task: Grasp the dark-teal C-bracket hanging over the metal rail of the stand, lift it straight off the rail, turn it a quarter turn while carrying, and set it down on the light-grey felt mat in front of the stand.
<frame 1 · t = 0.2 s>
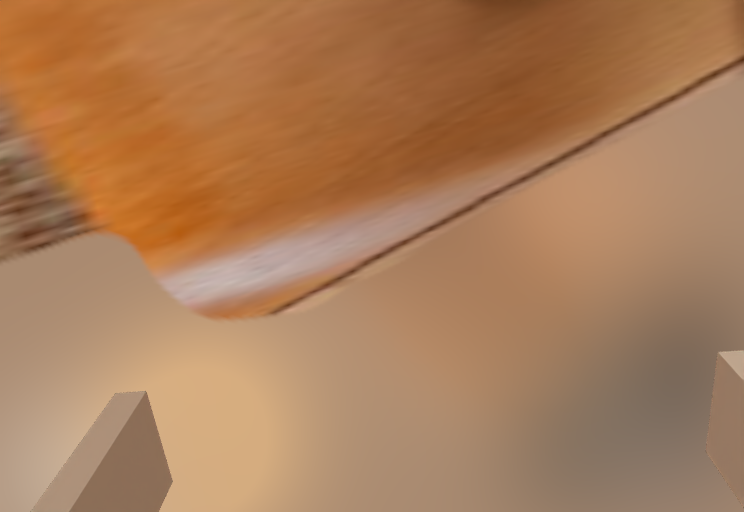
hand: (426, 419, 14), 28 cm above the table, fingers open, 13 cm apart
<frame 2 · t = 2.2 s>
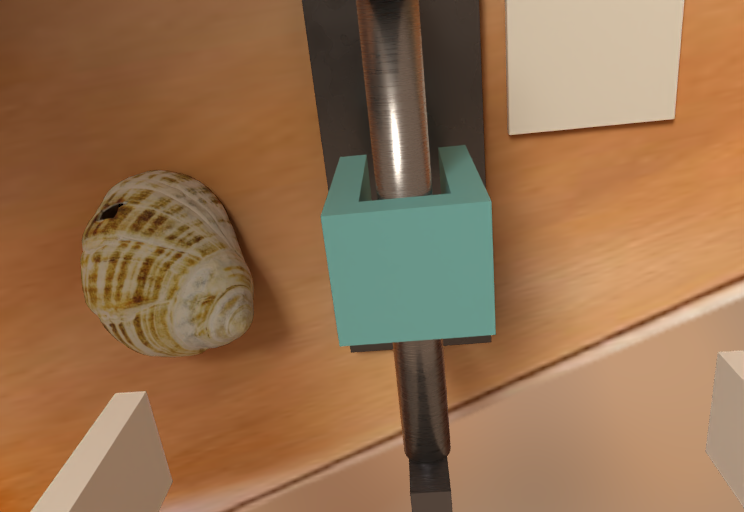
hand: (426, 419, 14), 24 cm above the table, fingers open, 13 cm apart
mat: (590, 31, 33), on the table
c link: (406, 204, 29), point 8 cm above the table, touching stand
seashell: (190, 251, 39), on the table
stand: (404, 159, 36), on the table
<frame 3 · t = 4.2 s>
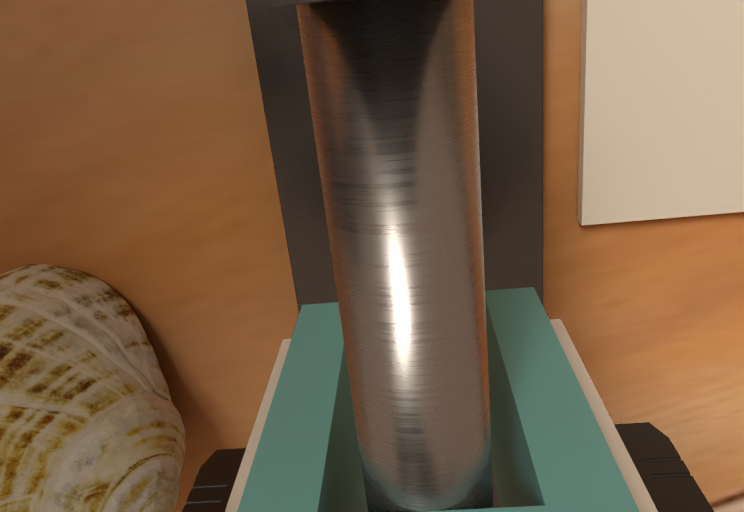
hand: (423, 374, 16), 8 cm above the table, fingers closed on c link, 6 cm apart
mat: (719, 65, 20), on the table
c link: (423, 383, 16), point 8 cm above the table, touching gripper, stand
seashell: (97, 377, 26), on the table
stand: (415, 258, 23), on the table
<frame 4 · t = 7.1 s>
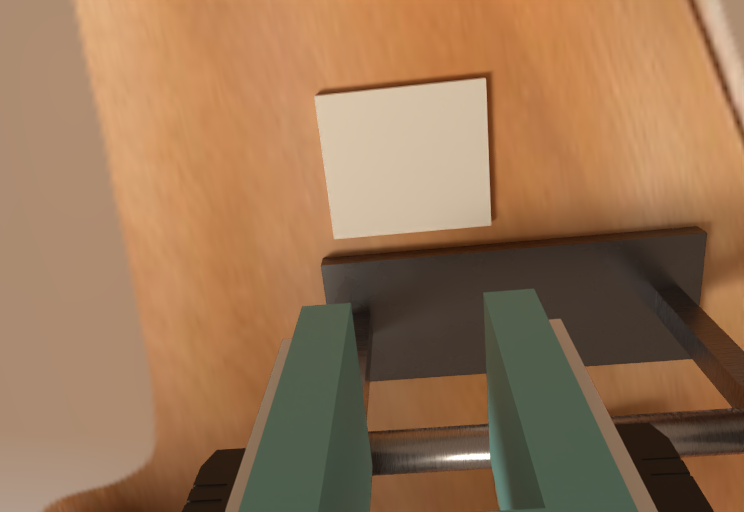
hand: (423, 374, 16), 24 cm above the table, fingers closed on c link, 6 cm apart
mat: (405, 160, 38), on the table
c link: (424, 384, 16), point 24 cm above the table, touching gripper
stand: (507, 304, 42), on the table
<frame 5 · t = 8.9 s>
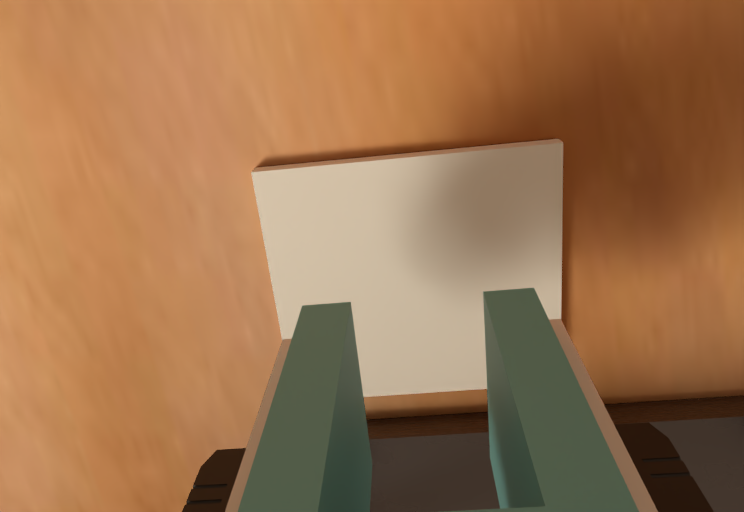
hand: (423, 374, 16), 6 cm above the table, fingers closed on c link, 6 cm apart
mat: (414, 277, 22), on the table
c link: (424, 383, 16), point 7 cm above the table, touching gripper
stand: (580, 496, 26), on the table
when the fingers open (2 cm above the table, at t = 10.1 s): c link drops 1 cm, resting on mat.
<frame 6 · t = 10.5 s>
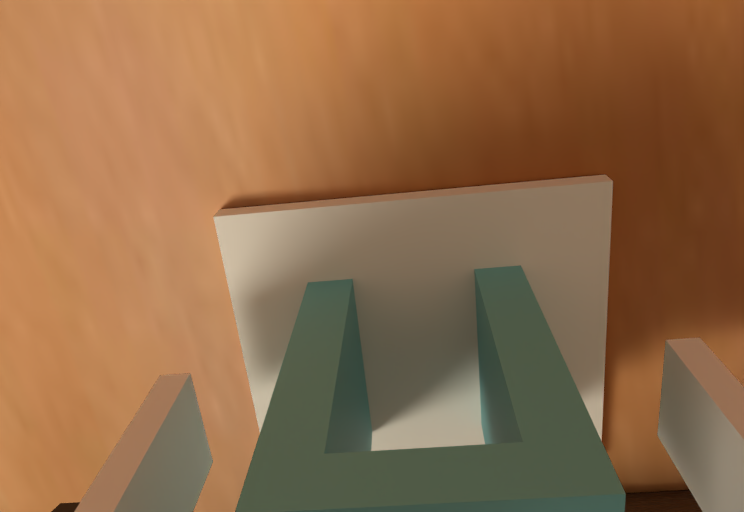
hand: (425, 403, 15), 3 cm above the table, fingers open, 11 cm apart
mat: (421, 342, 18), on the table
c link: (420, 355, 17), point 1 cm above the table, touching mat
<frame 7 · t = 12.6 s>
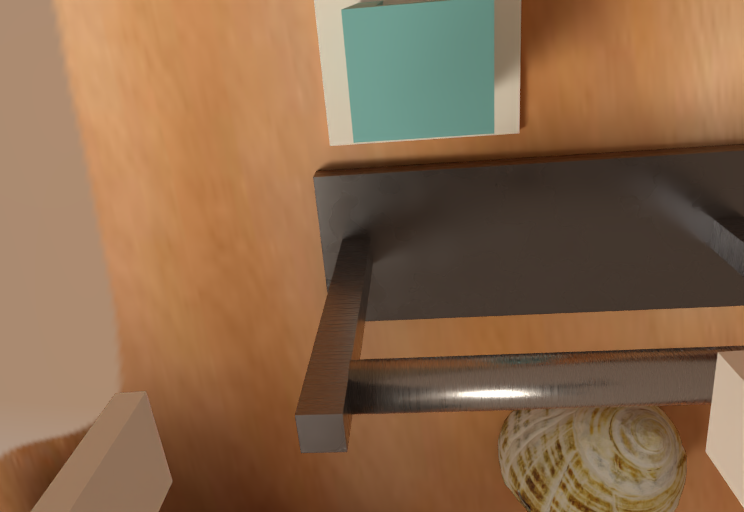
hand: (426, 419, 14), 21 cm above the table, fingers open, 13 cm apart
mat: (419, 49, 31), on the table
c link: (418, 51, 31), point 1 cm above the table, touching mat
seashell: (581, 426, 41), on the table
stand: (534, 234, 35), on the table
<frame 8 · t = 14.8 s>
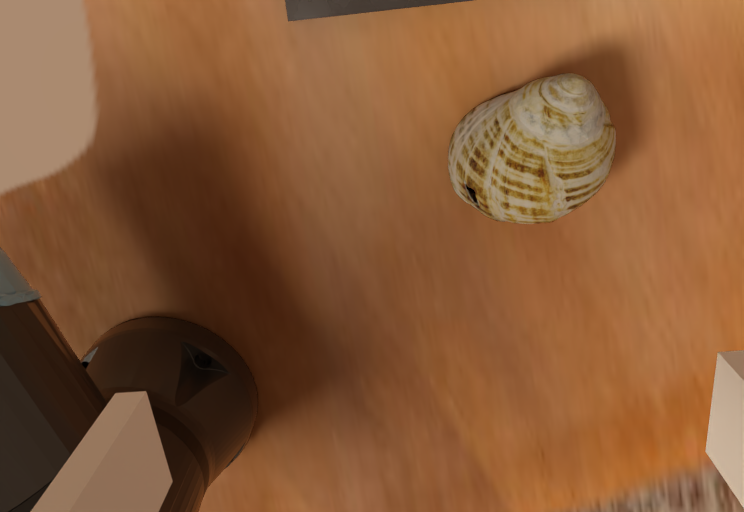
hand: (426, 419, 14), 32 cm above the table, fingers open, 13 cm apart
seashell: (524, 138, 44), on the table
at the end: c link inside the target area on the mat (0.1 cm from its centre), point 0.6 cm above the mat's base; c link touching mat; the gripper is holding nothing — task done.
